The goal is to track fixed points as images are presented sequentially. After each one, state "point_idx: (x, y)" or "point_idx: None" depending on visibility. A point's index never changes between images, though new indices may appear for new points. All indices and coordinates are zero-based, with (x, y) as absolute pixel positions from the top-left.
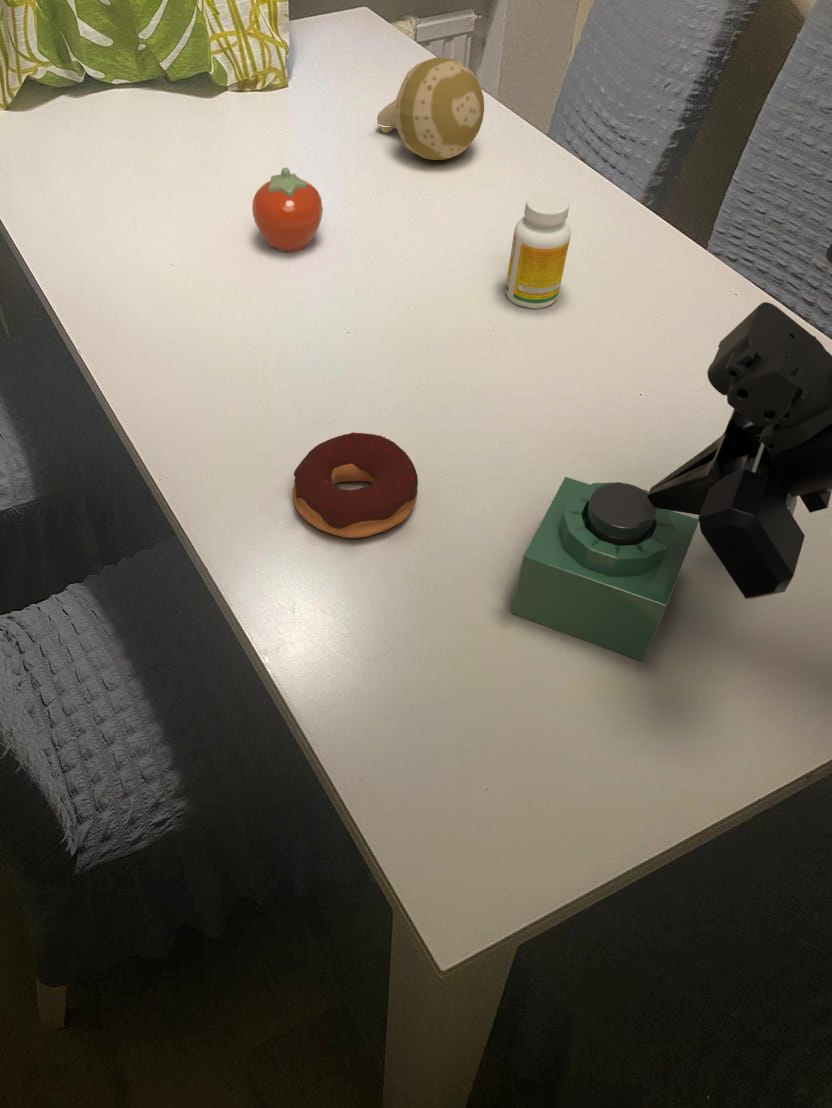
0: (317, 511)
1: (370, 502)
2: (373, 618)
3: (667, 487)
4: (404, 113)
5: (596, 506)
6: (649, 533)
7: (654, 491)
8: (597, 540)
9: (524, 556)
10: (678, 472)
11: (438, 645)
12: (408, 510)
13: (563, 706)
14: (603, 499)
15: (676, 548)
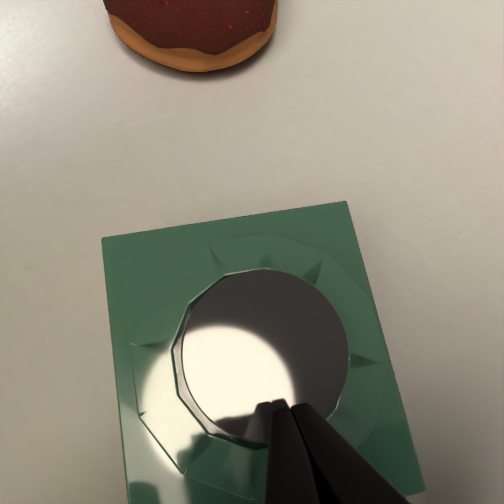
0: None
1: (145, 5)
2: (17, 132)
3: (270, 483)
4: None
5: (219, 298)
6: None
7: (277, 429)
8: (166, 347)
9: (101, 239)
10: (349, 489)
11: (18, 226)
12: (202, 65)
13: (3, 441)
14: (251, 301)
15: None
